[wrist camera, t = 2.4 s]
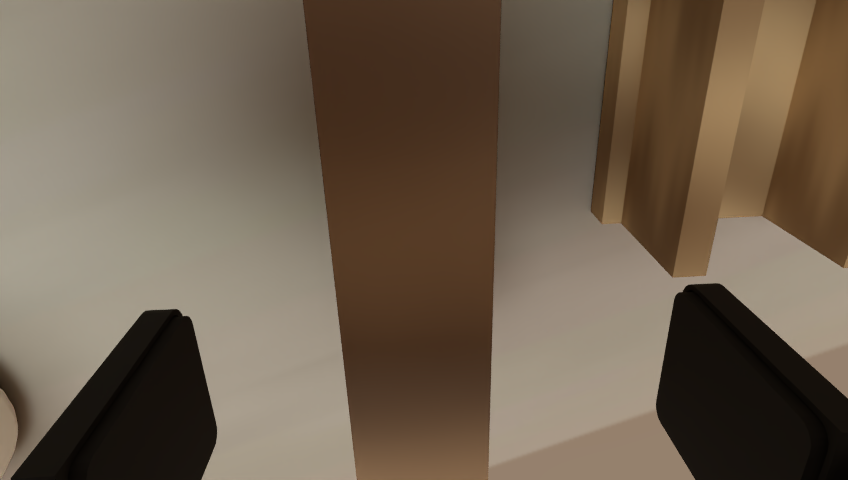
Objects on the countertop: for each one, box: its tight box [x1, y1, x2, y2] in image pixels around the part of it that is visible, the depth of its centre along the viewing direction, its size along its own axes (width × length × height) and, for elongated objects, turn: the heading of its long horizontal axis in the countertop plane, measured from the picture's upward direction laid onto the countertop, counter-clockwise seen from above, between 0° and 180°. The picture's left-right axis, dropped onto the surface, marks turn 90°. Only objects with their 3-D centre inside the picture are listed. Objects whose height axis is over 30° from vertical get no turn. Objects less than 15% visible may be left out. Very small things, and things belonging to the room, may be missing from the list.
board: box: [303, 0, 501, 480], centre depth 15 cm, size 12×3×10 cm, turn 2°
